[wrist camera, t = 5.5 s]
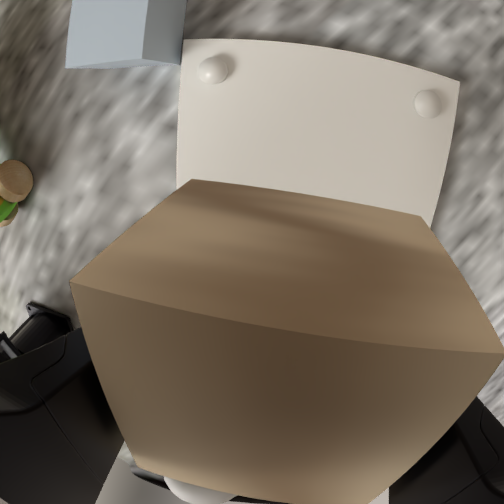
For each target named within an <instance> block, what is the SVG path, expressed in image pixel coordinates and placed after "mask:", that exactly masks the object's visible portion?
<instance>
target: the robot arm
mask: <svg viewBox="0 0 504 504" xmlns="http://www.w3.org/2000/svg"><path fill="white" fill-rule="evenodd" d="M26 308H27V311H28V313H29V316H30V317H29V318H28V319H27V320H26V321H25V322H24V323H23V324H22V325H21V326H20V327H19V328H18V329H17V330H16V331H15V332H14V333H13V335H12V336H11V337H10V338H8V337H7V335H6V333H5V332H4V331H3V332H2V333H1V334H0V504H95V502H96V500H97V498H98V496H99V494H100V491H101V489H102V487H103V484H104V482H105V480H106V478H107V476H108V474H109V472H110V469H111V468H112V465H113V463H114V461H115V459H116V457H117V455H118V453H119V451H120V449H121V447H122V445H123V443H124V441H125V440H124V438H123V436H122V434H121V431H120V429H119V427H118V425H117V423H116V420H115V418H114V416H113V413H112V411H111V409H110V406H109V404H108V401H107V399H106V396H105V394H104V391H103V389H102V386H101V384H100V381H99V378H98V376H97V373H96V370H95V367H94V364H93V362H92V359H91V356H90V353H89V350H88V347H87V344H86V341H85V337H84V334H83V331H82V328H81V327H80V328H78V329H76V330H74V331H73V328H72V325H71V322H70V319H69V318H68V317H67V316H66V315H63V314H60V313H57V312H54V311H51V310H48V309H45V308H43V307H40V306H37V305H34V304H32V303H28V304H27V305H26ZM389 504H504V427H503V426H502V424H501V423H500V422H499V421H498V420H497V419H496V418H495V417H494V415H493V414H492V413H491V412H490V411H489V410H488V409H487V407H486V406H484V404H483V403H482V402H481V401H480V399H479V398H478V397H477V396H476V397H475V399H474V400H473V401H472V402H471V404H470V405H469V406H468V407H467V408H466V410H465V411H464V412H463V413H462V414H461V416H460V417H459V418H458V419H457V420H456V421H455V423H454V424H453V425H452V426H451V427H450V428H449V429H448V430H447V432H446V433H445V434H444V435H443V436H442V437H441V438H440V439H439V440H438V441H437V442H436V443H435V444H434V445H433V446H432V447H431V448H430V449H429V450H428V451H427V452H426V453H425V454H424V455H423V456H422V457H421V458H420V459H419V460H418V461H417V462H416V463H415V464H414V465H413V466H412V467H411V468H410V469H409V470H408V471H407V472H405V473H404V474H403V475H402V476H401V477H400V478H399V479H398V480H396V481H395V482H394V483H393V484H392V485H391V486H389Z"/></svg>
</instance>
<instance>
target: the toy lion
mask: <svg viewBox="0 0 504 504" xmlns="http://www.w3.org/2000/svg"><path fill="white" fill-rule="evenodd" d="M32 187H33V176H32V173H31V171H30V170H29V168H28V167H27V166H26V165H25V164H23V163H22V162H20V161H17V160H7V161H5V162H3V163H2V164H0V227H3V226H7V225H9V224H10V223H11V222H12V221H13V219H14V218H15V216H16V214H17V212H18V202H19V201H22V200H24V199H25V198H26V196H27V195H28V193H29V192H30V190H31V189H32Z"/></svg>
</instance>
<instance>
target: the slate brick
mask: <svg viewBox="0 0 504 504" xmlns="http://www.w3.org/2000/svg"><path fill="white" fill-rule="evenodd" d="M186 4H187V0H73V1H72V7H71V14H70V21H69V29H68V38H67V49H66V61H65V68H103V69H115V68H126V67H139V66H158V65H180V58H181V47H182V38H183V29H184V20H185V12H186Z"/></svg>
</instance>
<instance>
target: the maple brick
mask: <svg viewBox="0 0 504 504" xmlns="http://www.w3.org/2000/svg"><path fill="white" fill-rule="evenodd" d="M69 283H70V287H71V291H72V295H73V299H74V303H75V307H76V310H77V314H78V317H79V321H80V324H81V328H82V331H83V334H84V337H85V341H86V344H87V347H88V350H89V353H90V356H91V359H92V362H93V364H94V367H95V370H96V373H97V376H98V378H99V381H100V384H101V386H102V389H103V391H104V394H105V396H106V399H107V401H108V404H109V406H110V409H111V411H112V413H113V416H114V418H115V420H116V423H117V425H118V427H119V429H120V431H121V434H122V436H123V438H124V440H125V442H126V444H127V446H128V448H129V450H130V452H131V454H132V456H133V458H134V460H135V462H136V464H137V466H138V467H139V468H142V469H144V470H147V471H150V472H153V473H156V474H159V475H162V476H165V477H168V478H172V479H175V480H178V481H182V482H185V483H189V484H192V485H196V486H200V487H204V488H208V489H212V490H216V491H221V492H225V493H230V494H235V495H240V496H245V497H251V498H257V499H263V500H269V501H277V502H284V503H293V504H368V503H370V502H371V501H372V500H373V499H375V498H376V497H377V496H379V495H380V494H381V493H382V492H383V491H385V490H386V489H387V488H388V487H389V486H391V485H392V484H393V483H394V482H395V481H396V480H398V479H399V478H400V477H401V476H402V475H403V474H404V473H405V472H407V471H408V470H409V469H410V468H411V467H412V466H413V465H414V464H415V463H416V462H417V461H418V460H419V459H420V458H421V457H422V456H423V455H424V454H425V453H426V452H427V451H428V450H429V449H430V448H431V447H432V446H433V445H434V444H435V443H436V442H437V441H438V440H439V439H440V438H441V437H442V436H443V435H444V434H445V433H446V432H447V430H448V429H449V428H450V427H451V426H452V425H453V424H454V423H455V421H456V420H457V419H458V418H459V417H460V416H461V414H462V413H463V412H464V411H465V410H466V408H467V407H468V406H469V405H470V404H471V402H472V401H473V400H474V399H475V397H476V396H477V395H478V393H479V392H480V391H481V389H482V388H483V387H484V386H485V384H486V383H487V381H488V380H489V379H490V377H491V376H492V375H493V373H494V372H495V370H496V369H497V367H498V366H499V364H500V363H501V362H502V360H503V359H504V347H503V345H502V343H501V341H500V339H499V337H498V336H497V334H496V332H495V330H494V328H493V326H492V324H491V323H490V321H489V319H488V317H487V315H486V314H485V312H484V310H483V309H482V307H481V305H480V303H479V302H478V300H477V298H476V297H475V295H474V293H473V292H472V290H471V288H470V287H469V285H468V284H467V282H466V280H465V279H464V277H463V276H462V274H461V273H460V271H459V270H458V268H457V267H456V265H455V264H454V262H453V261H452V259H451V258H450V256H449V255H448V253H447V252H446V250H445V249H444V247H443V246H442V245H441V243H440V242H439V240H438V239H437V238H436V236H435V235H434V233H433V232H432V231H431V229H430V228H429V227H428V225H427V224H426V223H425V221H424V220H423V219H422V217H421V216H418V215H413V214H409V213H404V212H399V211H395V210H390V209H385V208H380V207H375V206H370V205H364V204H359V203H354V202H348V201H343V200H337V199H332V198H326V197H320V196H314V195H308V194H302V193H295V192H289V191H282V190H276V189H269V188H262V187H255V186H248V185H240V184H232V183H224V182H216V181H208V180H199V179H190V180H189V181H188V182H186V183H185V184H184V185H183V186H181V187H180V188H179V189H177V190H176V191H175V192H173V193H172V194H171V195H170V196H168V197H167V198H166V199H164V200H163V201H162V202H161V203H159V204H158V205H157V206H156V207H154V208H153V209H152V210H151V211H149V212H148V213H147V214H146V215H144V216H143V217H142V218H141V219H140V220H138V221H137V222H136V223H135V224H134V225H132V226H131V227H130V228H129V229H128V230H126V231H125V232H124V233H123V234H122V235H120V236H119V237H118V238H117V239H116V240H115V241H113V242H112V243H111V244H110V245H109V246H108V247H106V248H105V249H104V250H103V251H102V252H101V253H100V254H99V255H97V256H96V257H95V258H94V259H93V260H92V261H91V262H90V263H88V264H87V265H86V266H85V267H84V268H83V269H82V270H81V271H80V272H79V273H77V274H76V275H75V276H74V277H73V278H72V279H71V280H70V281H69Z"/></svg>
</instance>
